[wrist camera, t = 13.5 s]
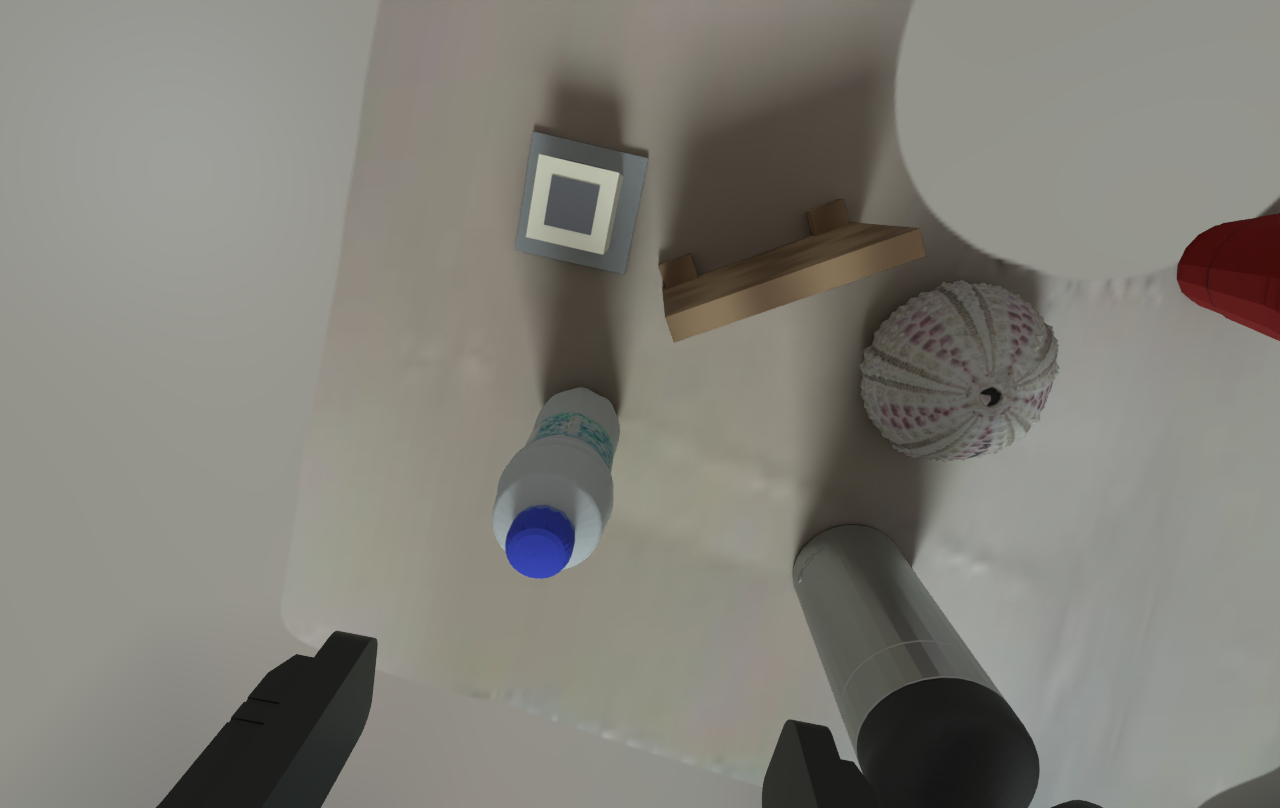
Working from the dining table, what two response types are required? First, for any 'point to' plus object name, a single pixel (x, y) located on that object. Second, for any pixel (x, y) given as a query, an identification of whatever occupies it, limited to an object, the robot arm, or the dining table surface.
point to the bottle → (559, 485)
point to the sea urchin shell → (959, 372)
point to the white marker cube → (573, 204)
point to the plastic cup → (1237, 272)
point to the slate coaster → (626, 208)
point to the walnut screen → (783, 271)
